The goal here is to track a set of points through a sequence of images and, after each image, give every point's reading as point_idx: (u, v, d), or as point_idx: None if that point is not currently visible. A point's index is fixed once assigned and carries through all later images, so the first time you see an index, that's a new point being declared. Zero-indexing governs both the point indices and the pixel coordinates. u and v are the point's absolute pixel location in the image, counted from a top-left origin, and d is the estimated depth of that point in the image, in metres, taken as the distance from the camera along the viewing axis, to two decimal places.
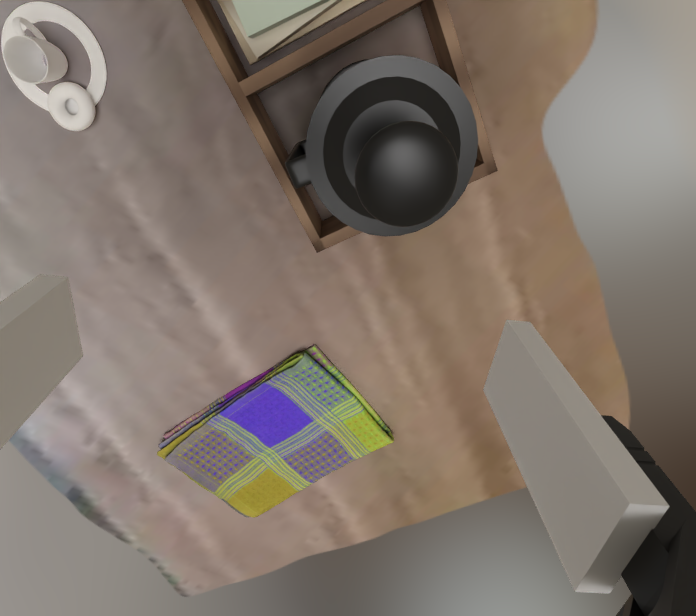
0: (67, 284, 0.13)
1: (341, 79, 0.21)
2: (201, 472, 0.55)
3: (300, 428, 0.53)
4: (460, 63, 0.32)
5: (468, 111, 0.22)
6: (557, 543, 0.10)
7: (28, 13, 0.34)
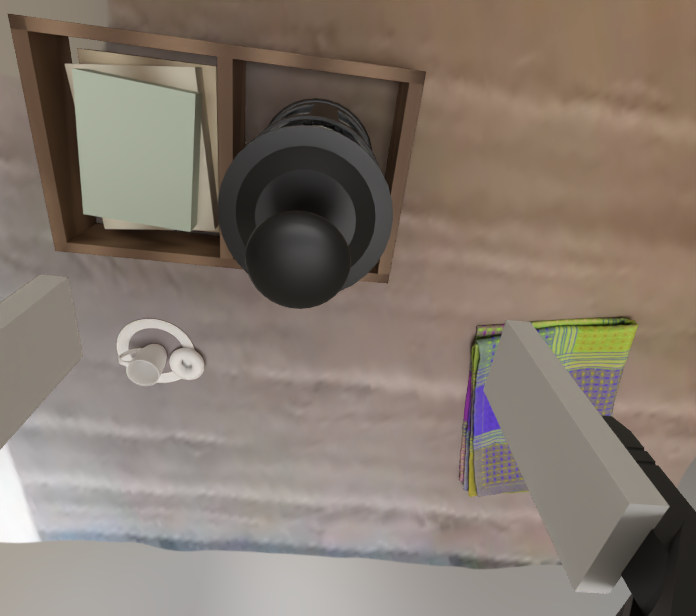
0: (67, 284, 0.13)
1: (222, 226, 0.23)
2: (514, 482, 0.55)
3: None
4: (303, 59, 0.30)
5: (308, 130, 0.21)
6: (557, 543, 0.10)
7: (122, 345, 0.46)
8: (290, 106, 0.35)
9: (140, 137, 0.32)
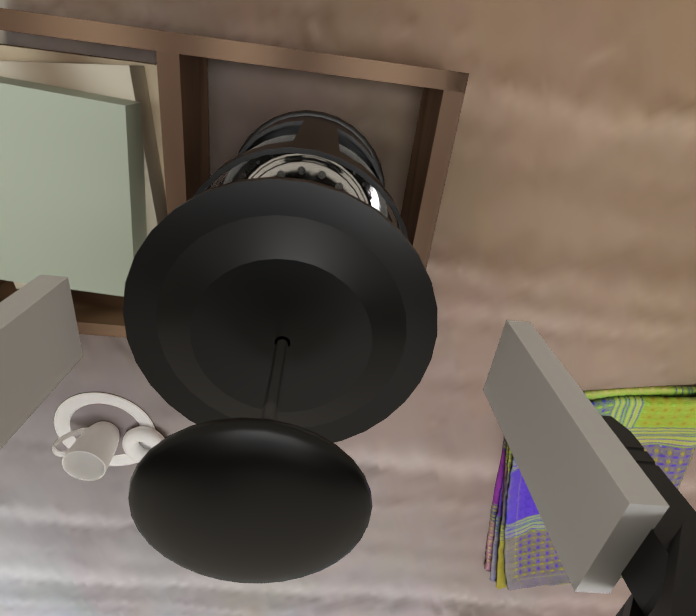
0: (67, 284, 0.13)
1: (136, 349, 0.13)
2: (552, 573, 0.45)
3: None
4: (285, 55, 0.20)
5: (283, 187, 0.11)
6: (557, 543, 0.10)
7: (62, 424, 0.36)
8: (271, 121, 0.25)
9: (50, 170, 0.21)
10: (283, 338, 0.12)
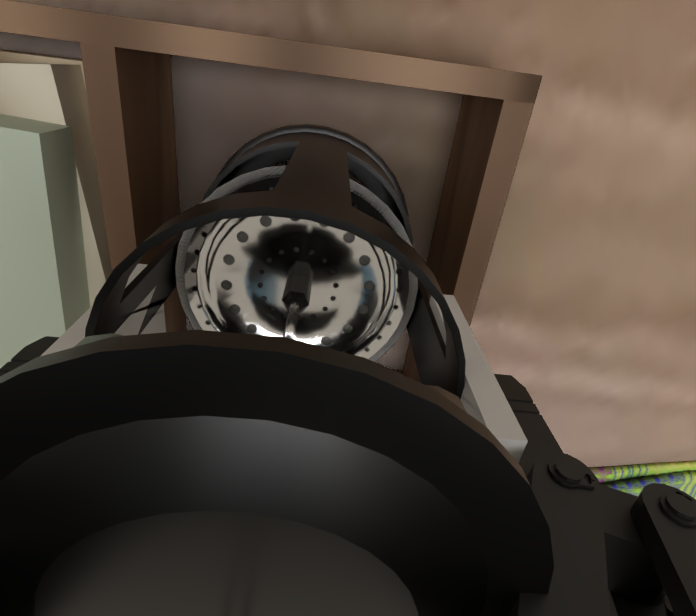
0: None
1: None
2: None
3: None
4: (272, 49, 0.13)
5: (216, 362, 0.04)
6: None
7: None
8: (258, 139, 0.19)
9: None
10: None
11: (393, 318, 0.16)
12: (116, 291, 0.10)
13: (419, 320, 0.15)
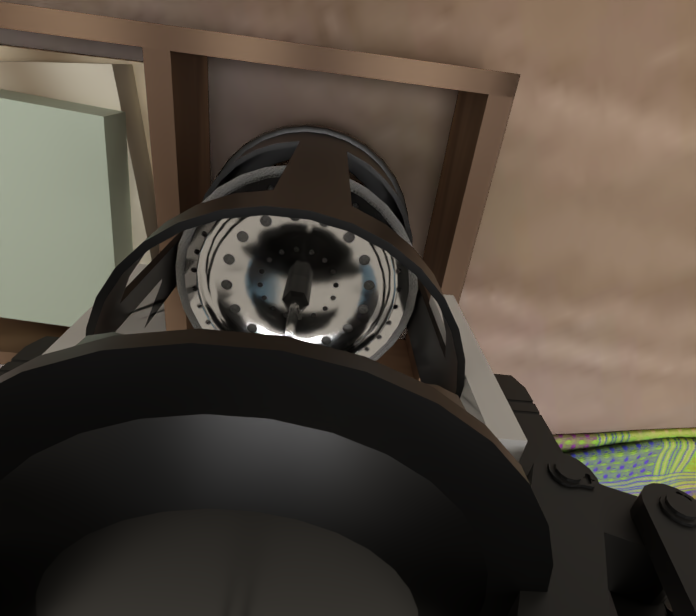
0: None
1: None
2: None
3: None
4: (298, 53, 0.16)
5: (217, 360, 0.04)
6: None
7: None
8: (258, 139, 0.19)
9: (18, 191, 0.18)
10: None
11: (393, 318, 0.16)
12: (116, 291, 0.10)
13: (419, 320, 0.15)
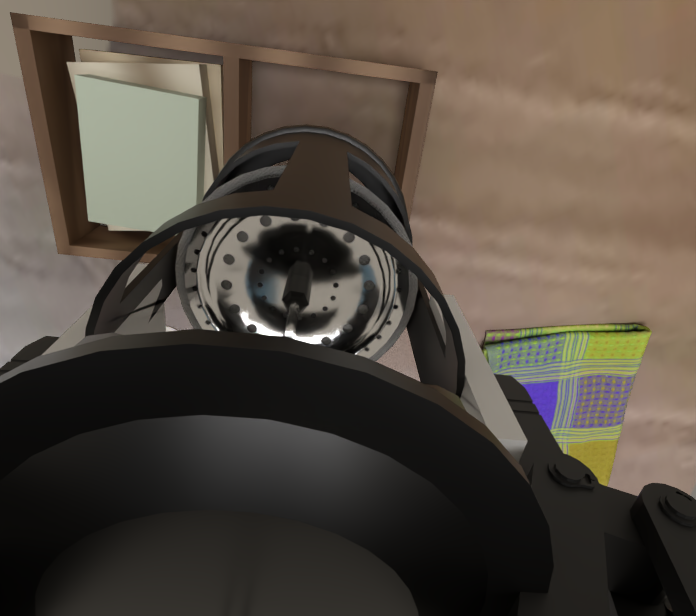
0: None
1: None
2: None
3: (555, 396, 0.48)
4: (311, 59, 0.29)
5: (217, 361, 0.04)
6: None
7: None
8: (258, 139, 0.19)
9: (144, 143, 0.31)
10: None
11: (393, 318, 0.16)
12: (116, 291, 0.10)
13: (419, 320, 0.15)
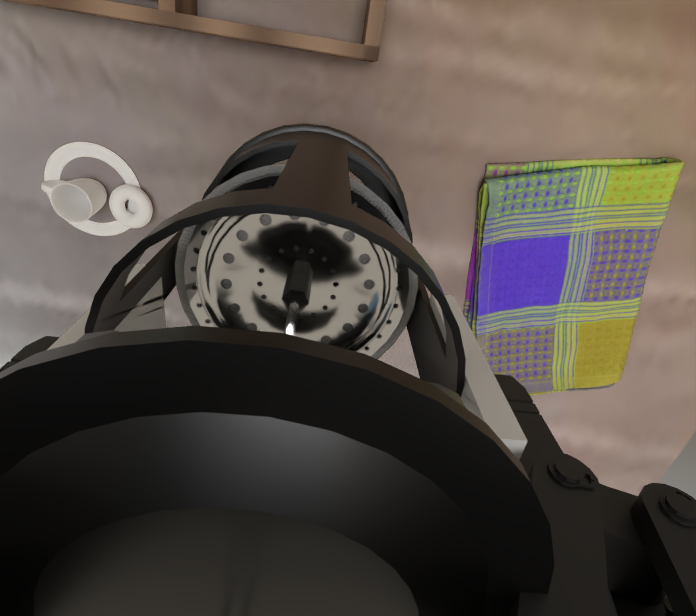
0: None
1: None
2: (522, 382, 0.46)
3: (566, 255, 0.41)
4: None
5: (216, 357, 0.04)
6: None
7: (51, 180, 0.37)
8: (258, 138, 0.19)
9: None
10: None
11: (393, 317, 0.16)
12: (116, 289, 0.10)
13: (419, 319, 0.15)
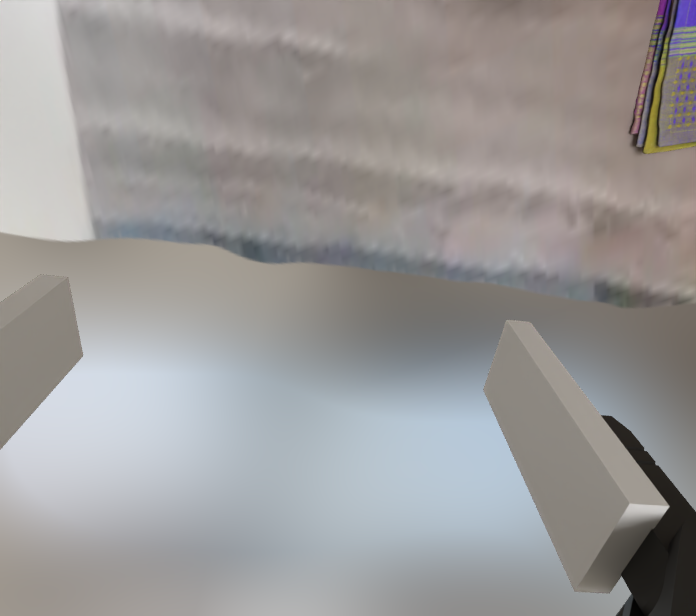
0: (67, 284, 0.13)
1: None
2: None
3: None
4: None
5: None
6: (557, 543, 0.10)
7: None
8: None
9: None
10: None
11: None
12: None
13: None
